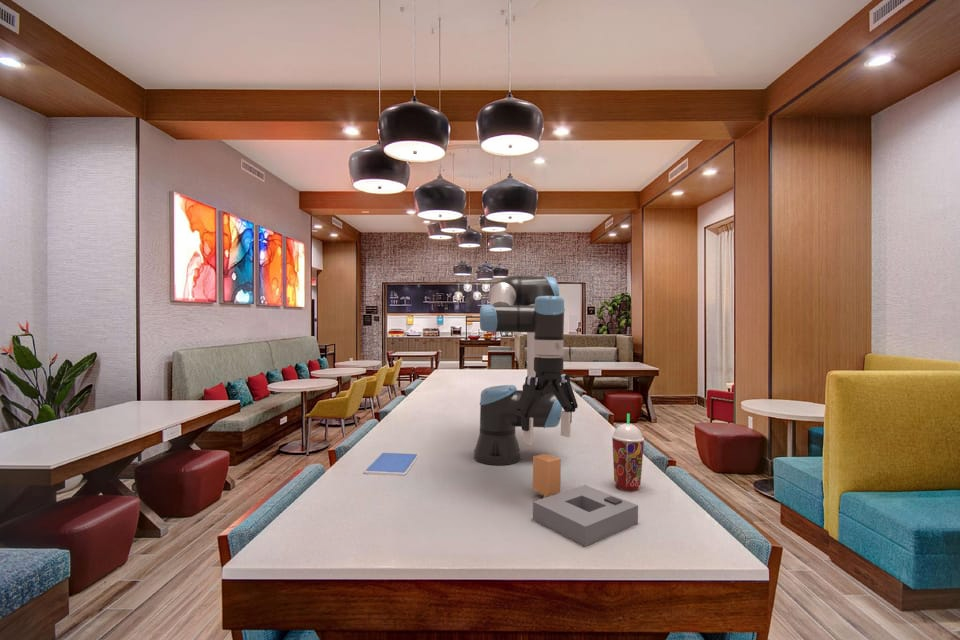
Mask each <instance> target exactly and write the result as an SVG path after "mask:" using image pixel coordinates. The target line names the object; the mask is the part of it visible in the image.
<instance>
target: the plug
mask: <svg viewBox="0 0 960 640" xmlns="http://www.w3.org/2000/svg"><path fill="white" fill-rule="evenodd" d="M532 457H533V458H532V463H533V464H532V465H533V466H532V490H533V491H535V492H537V493H538V494H539V495H540V496H542V497H543V498H546V497H549V496H552V495H555V494H559V493H561V474H562V473H561V472H562V471H561V467H562V466H561V465H562V463H561V461H562V459H561V458H559V457H558V456H557V457H556V456H553V455H551V454H549V453H541V454H537V455H533V456H532Z"/></svg>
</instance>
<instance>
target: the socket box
mask: <svg viewBox="0 0 960 640" xmlns="http://www.w3.org/2000/svg"><path fill="white" fill-rule="evenodd" d="M532 520H533V521H535V522H537V523H539V524H541V525H542V526H545V527H547V528H548V529H550V530H553V531H554V532H556V533H559V534H560V535H562V536H564V537H566V538H568V539H569V540H571V541H573V542H576V543H577V544H579V545H581V546H583V547H584V548H585V547H588V546H590V545H592V544H595V543H596V542H599V541H602V540H603V539H605V538H607V537H610V536H612V535H615V534H617V533H619V532H621V531H623V530H626V529H628V528H630V527H633V526H635V525H637V524H638V523H639V504H636V503H633V502H630V501H628V500H626V499H622V498H620V497H617V496H615V495H612V494H610V493H607V492H605V491H601V490H599V489H596V488H593V487H591V486H588V485H587V484H584V485H581V486H577V487H575V488H572V489H569V490H565V491H562V492H559V493H557V494H555V495H550V496H549V497H546V498H544V497H543V498H540V499H536V500H534V501H533V502H532Z"/></svg>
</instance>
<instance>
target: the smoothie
mask: <svg viewBox="0 0 960 640" xmlns="http://www.w3.org/2000/svg"><path fill="white" fill-rule="evenodd" d="M630 415H631V414H630V413H626V423H622V424H620V425H618V426H617V427H616V428H615V429H614V432H613V434H611V438H612V459H613V463H612V464H613V479H614V483H615V485H616V488H618V489H620V490H623V491H627V492H628V491H629V492H631V491H633V492H634V491H637V490H639V486H641V480H642V470H643V468H642V467H643V458H644V457H643V456H644V446H645V445H644V444H645V438H644V436H643V434H642V432H641V430H640V429H639V428H638V427H637V426H636V425H634V424H632V423H630V421H631V419H630V418H631V417H630Z"/></svg>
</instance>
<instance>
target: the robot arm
mask: <svg viewBox="0 0 960 640" xmlns="http://www.w3.org/2000/svg"><path fill="white" fill-rule="evenodd" d="M488 301H489V304H485V305H484V304H483V305H481V306H480V310H479V328H480V330H481V331H483V332H489V333H526V350H527V351H526V371H527V373H526V374H527V376H525V378H524V379H525V381H524V383H523V384H522V390H521V389H520V390H519V389H517V386H516V385H512V384H503V385H494V386H490V387H486V388H484V389H483V390H482V391H481V392H480V398H479V399H480V401H479V406H480V408H479V409H480V410H479V411H480V413H479V435H478V438H477V441H476V446H475V448H474V451H473V458H474V460H475V461H477V462H478V463H482V464H486V465H493V466H503V465H504V466H505V465H512V464H515V463H518V462H519V461H521V450H520V447H519V442H518V440H517V436H516V435H517V434H516V428H517V427H521V430H522V434H523V435H522V443H523V444H525V445H529V446H533V445H534V437H533V436H534V428H543V429H546V428H556V427H558V426H559V425H560V436H562V437H566V438H568V439H569V438H571V427H572V426H571V424H572V419H573V418H572V417H573V416H572V415H573V414H572V413H575V412H576V409H578V402H577V398H576V397H575V393H574V390H573V387H572V384H571V376H570V374H568V373H567V374H566V373H563V372H564V358H563V357H562V356H564V340H565V339H564V330H565V326H564V325H565V311H566V309H565V300H564V298H563V297H562V296H560V288H559V284H558V280H557V279H556V278H555V277H553V276H545V275H542V276H527V275H525V276H524V275H512V276H507V277H504V278H502V279H500V280H498V281H496V282H495V283H493V284H492V285H491V287H490V289H489V291H488Z"/></svg>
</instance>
